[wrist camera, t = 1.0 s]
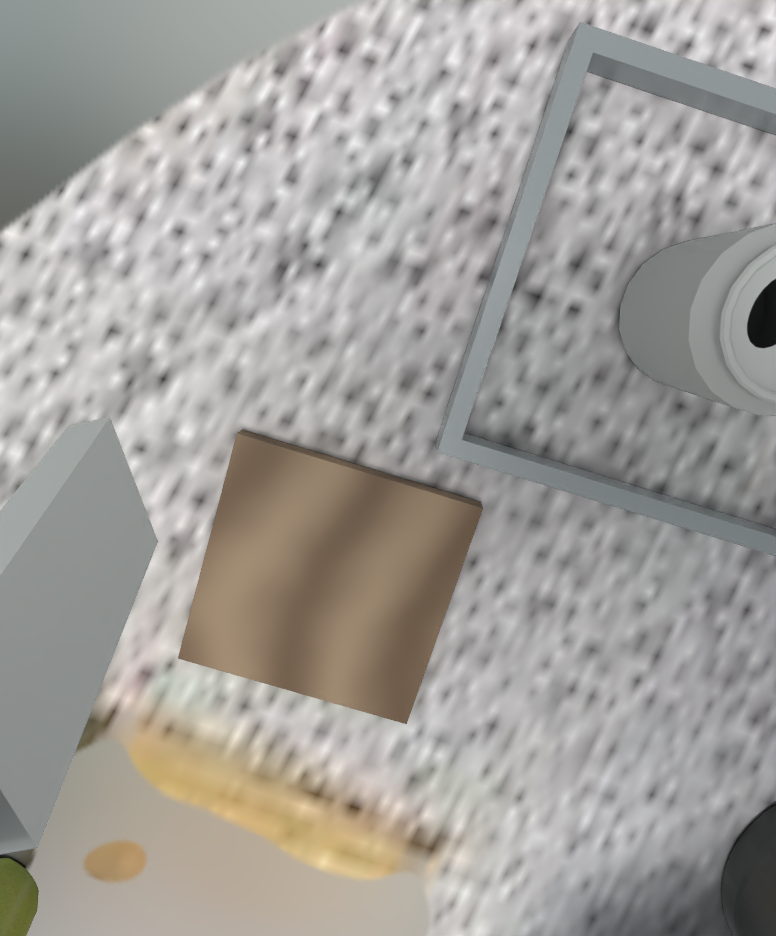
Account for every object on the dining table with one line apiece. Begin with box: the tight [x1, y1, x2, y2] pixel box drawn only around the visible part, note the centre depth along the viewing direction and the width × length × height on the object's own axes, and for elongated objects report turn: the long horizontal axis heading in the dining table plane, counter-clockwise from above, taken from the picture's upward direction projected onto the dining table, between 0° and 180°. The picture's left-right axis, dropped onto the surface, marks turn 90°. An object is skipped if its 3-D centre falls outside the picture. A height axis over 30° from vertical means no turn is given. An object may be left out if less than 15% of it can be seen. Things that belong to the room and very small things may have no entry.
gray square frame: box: [435, 22, 776, 556], centre depth 37 cm, size 21×21×2 cm
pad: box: [178, 430, 483, 724], centre depth 41 cm, size 14×14×1 cm
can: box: [619, 223, 776, 416], centre depth 32 cm, size 8×8×12 cm
